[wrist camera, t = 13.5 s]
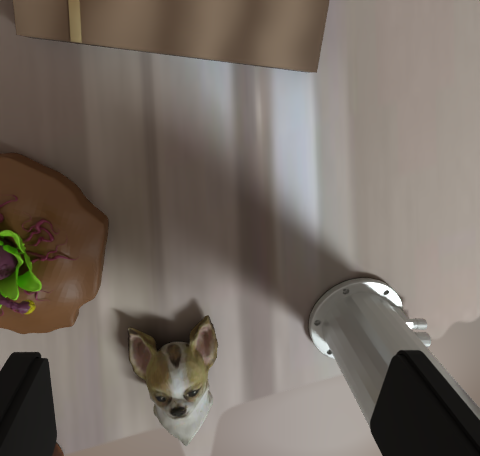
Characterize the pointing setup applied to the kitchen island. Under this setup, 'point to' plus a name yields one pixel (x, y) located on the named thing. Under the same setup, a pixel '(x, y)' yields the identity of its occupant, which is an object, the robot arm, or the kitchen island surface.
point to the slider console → (186, 28)
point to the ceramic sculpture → (177, 377)
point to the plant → (46, 247)
